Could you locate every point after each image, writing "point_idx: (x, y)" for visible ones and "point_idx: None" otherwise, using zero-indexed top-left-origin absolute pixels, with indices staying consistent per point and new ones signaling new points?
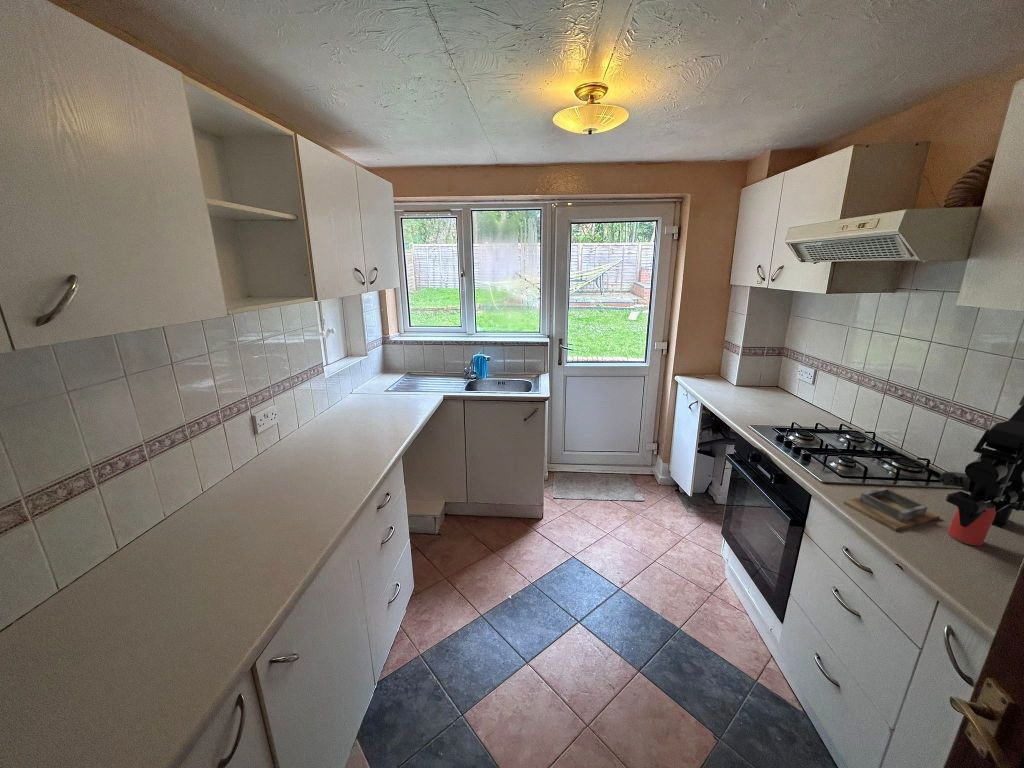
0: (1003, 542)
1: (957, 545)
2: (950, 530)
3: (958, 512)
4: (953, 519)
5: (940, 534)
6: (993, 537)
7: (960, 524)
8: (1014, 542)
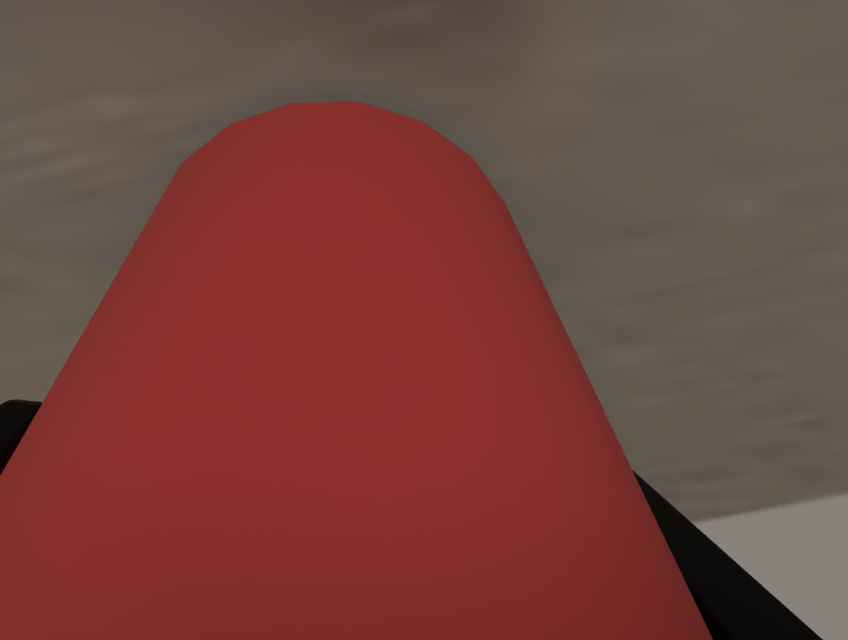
0: (672, 469)
1: (32, 279)
2: (197, 162)
3: (28, 467)
4: (210, 230)
5: (106, 48)
6: (717, 403)
7: (7, 407)
8: (764, 505)
